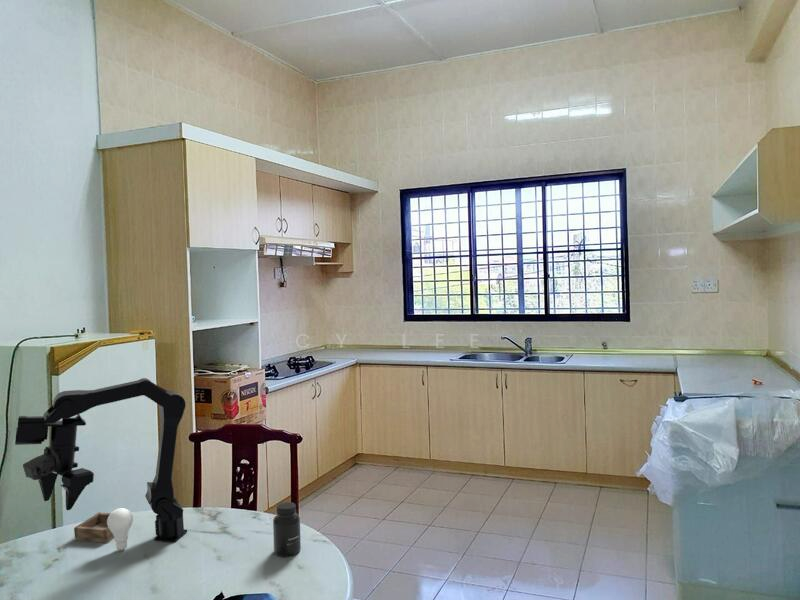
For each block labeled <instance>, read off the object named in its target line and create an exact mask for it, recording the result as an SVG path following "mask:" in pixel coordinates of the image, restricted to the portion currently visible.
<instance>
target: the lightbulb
mask: <svg viewBox="0 0 800 600" xmlns="http://www.w3.org/2000/svg"><path fill="white" fill-rule="evenodd" d="M110 513H111V514H110V515H109V516H108V519H107V525H108V528H109V529H110V531H111V532H112V533H113V535H114V539H113V540H114V542H115V548H116V550H119V551H124V550H125V549H126V548H127V546H128V538H129V532H130V528H131V527H132V525H133V522H134V521H133V520H134V517H133V513H132V512H131V511H130V510H129V509H127V508H124V507H120V508H119V507H118V508H116V509H113V511H112V512H110Z"/></svg>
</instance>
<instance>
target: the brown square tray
mask: <svg viewBox="0 0 800 600" xmlns="http://www.w3.org/2000/svg"><path fill="white" fill-rule="evenodd" d="M110 514H111V512H97V513H95V514H94V515H93V516H91V517H89V518H87V519H86V520H85V521H83V522H81V523H79V524H78V525H76V526H75V527H74V528H73V531H74V533H73V534H74V541H80V542H89V543H90V542H93V543H105V544H106V543H110V542H112V541H113V540H115V539H114V535H113V533H112V532H111V531H110V529H109V528H108V525H107V519H108V516H109V515H110Z"/></svg>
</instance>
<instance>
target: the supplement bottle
mask: <svg viewBox="0 0 800 600" xmlns="http://www.w3.org/2000/svg"><path fill="white" fill-rule="evenodd" d="M296 506H297V505H296V503H295V502H290V501H283V502H281V503H279V504H277V506H276V513H275V514H276V515H275V516H274V517H273V519H272V527H273V528H272V530H273V531H272V532H273V552H274V554H275V555H276V556H278V557H291V556H295V555H297V554H298V553H299V552H300V551H301V548H302V547H301V546H302V545H301V544H302V543H301V540H302V539H301V537H302V536H301V535H302V534H301V518H300V515H299V514H298V513H297V509H296V508H297V507H296Z"/></svg>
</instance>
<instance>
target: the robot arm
mask: <svg viewBox="0 0 800 600" xmlns="http://www.w3.org/2000/svg"><path fill="white" fill-rule="evenodd" d="M141 396H142V397H143V396H144V397H146V398H148V399H149V400H150V401H152V402H154V403H156V404H157V405H158V409H159V417H160V419H159V420H160V424H161V425H160V434H159V435H160V436H159V441H158V442H159V443H158V453H157V458H156V459H157V460H156V461H157V462H156V468H155V476H154V478H153V480H152V481H151V482H149V481H147V482H146V493H145V496H144V497H145V499H146V502H147V503H148V505H149V506H150V508H151V511H152V512H153V513H154V514H156V515H155V521H154V526H155V527H154V528H155V537H154V538H153V541H156V542H158V541H159V542H169V543H175V542H177V541H178V540H179V539H180V538H181V537H183V536H184V535H186V533H188V529H185V528H184V526H185V525H184V509H183V506H182V505H181V504H180V503H179V501H178V498H175V496H174V486H173V481H172V479H173V469H174V462H175V461H174V460H175V452H176V451H175V450H176V444H177V443H176V442H177V434H178V428H179V426H180V423H181V421H182V419H183V416H184V413H185V409H186V406H187V405H186V400H185V399H184V397H183V396H181V395H180V394H179V393H178V391H175V390H167V389H164V388H163V387H162V386H159V385H158V384H155V383H154V382H152V381H151V380H150V379H149V378H146V377H142V378H140V379H137V380H132V381H129V382H124V383H120V384H119V383H118V384H115V385H110V386H104V387H100V388H96V389H88V390H87V389H86V390H85V389H76V390H63V391H60V392H58V393H57V394H56V396H54V398H53V401H52V405H51V406H49V408H48V409H47V410H46V411H45V412H44V413H43V416H42V415H41V416H36V415H35V416H27V415H20V416H18V418H17V427H16V430H15V442H14V445H15V446H23V445H24V446H25V445H42V444H43V442H45V441H47V440H48V435H49V434H48V433H49V427H50V436H49V446H45V448H44V450H43V454H41V455H38V456H36V457H33V458H32V459H30V460H28V461H26V462H24V463H23V464H22V468H23V472H24V474H25V477H26V478H29V479H31V480H33V481H38V484H39V487H40V491H41V494H42V499H43V502H47V501H50V498H51V497H52V493H53V490H54V487H55V484H56V481H57V479H58V476H61V482H62V484H61V485H60V486H61V487H62V489H64V491H65V510H66V511H70V510H72V508H73V507H74V506H75V504H76V502H77V500H78V498H79V497H80V496H81V494H82V492H83V491H84V490H85V489H86V487H87V486H89V485H90V484H91V483H93V482H94V479H95V478H94V477H95V473H94V472H93V471H91V470H90V469H87V468H84V467H81V468H78V465H79V463H78V462H76V461H75V456H76V454H75V453H76V452H80V446H77V445H76V444H77V443H76V442H77V435H78V434H77V433H78V431H77V430H78V427H79V426H86V425H87V423H86V420H85V419H84V418H83V417H82V416H81V415H80V414H83V413H85V412H87V411H88V410H90V409H92V408H95V407H99V406H102V405H107V404H110V403H116V402H121V401H124V400H128V399H133V398H137V397H141ZM75 468H77V469H75Z"/></svg>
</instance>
